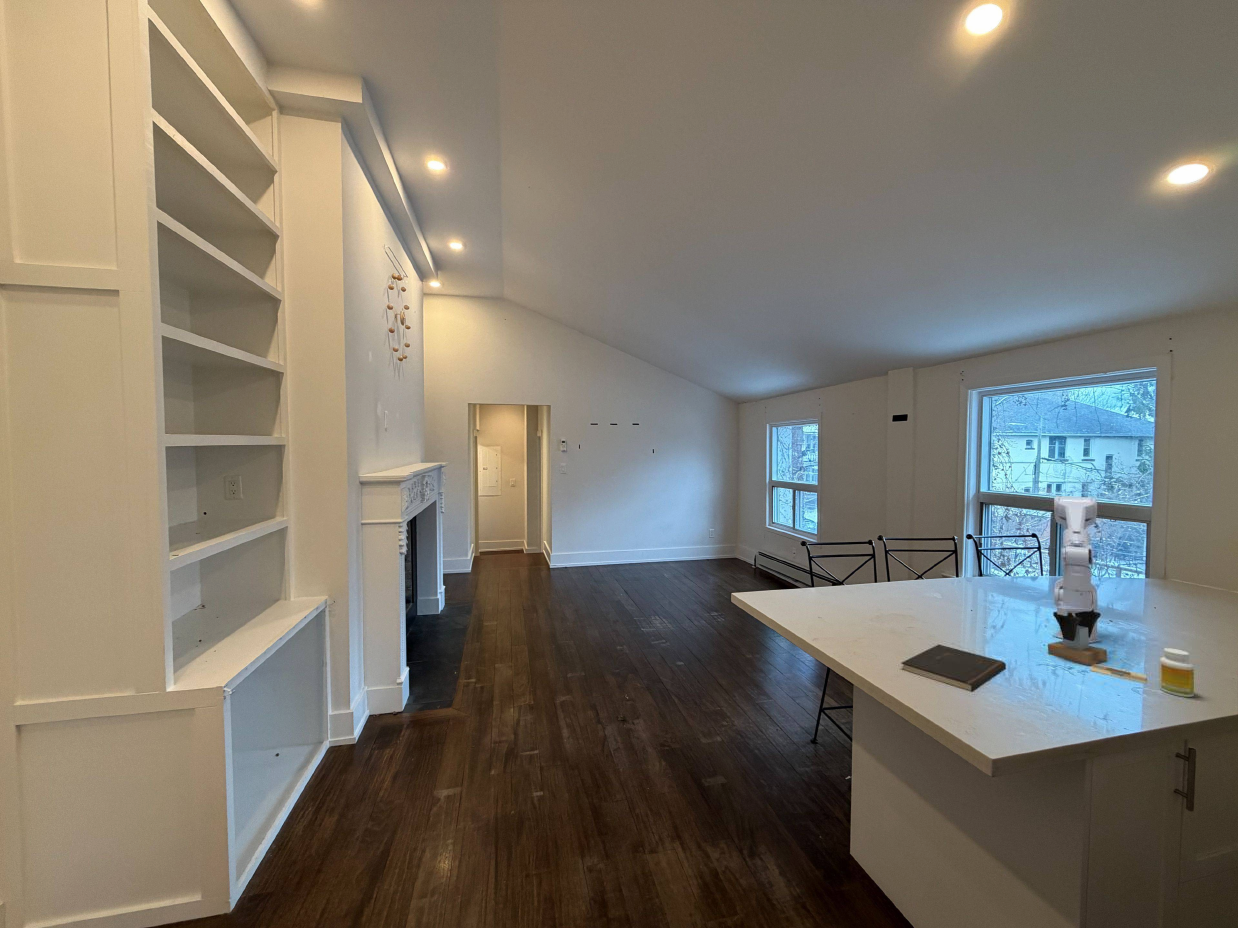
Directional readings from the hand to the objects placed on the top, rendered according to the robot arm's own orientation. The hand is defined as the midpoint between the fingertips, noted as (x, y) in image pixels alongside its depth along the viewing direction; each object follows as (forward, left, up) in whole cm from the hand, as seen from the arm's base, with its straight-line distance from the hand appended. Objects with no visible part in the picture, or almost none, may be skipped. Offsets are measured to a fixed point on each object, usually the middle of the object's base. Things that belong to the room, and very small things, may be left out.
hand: (1076, 638), depth 137 cm
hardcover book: (+40, -7, -6) cm, 41 cm away
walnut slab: (0, 0, -5) cm, 5 cm away
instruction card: (+3, +10, -5) cm, 12 cm away
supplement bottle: (+4, +21, -6) cm, 22 cm away
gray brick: (0, 0, -2) cm, 2 cm away
